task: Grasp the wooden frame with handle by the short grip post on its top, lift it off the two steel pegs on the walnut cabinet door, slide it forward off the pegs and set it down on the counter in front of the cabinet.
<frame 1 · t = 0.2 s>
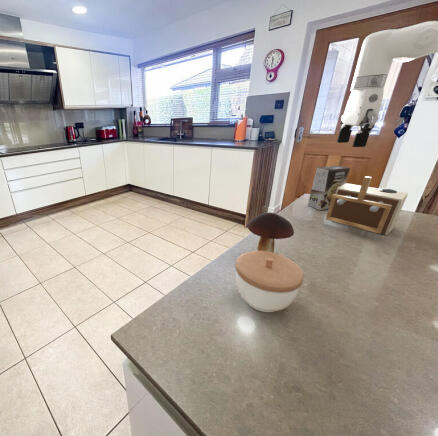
hand: (350, 144, 75), 26 cm above the countertop, tool pointing down, fingers open, 9 cm apart
cabinet: (359, 223, 82), on the countertop
lidded bowl: (261, 300, 52), on the countertop
wooden frame with handle: (351, 225, 75), point 3 cm above the countertop, touching cabinet
decorative mushroom: (263, 263, 64), on the countertop
coffee box: (322, 206, 96), on the countertop
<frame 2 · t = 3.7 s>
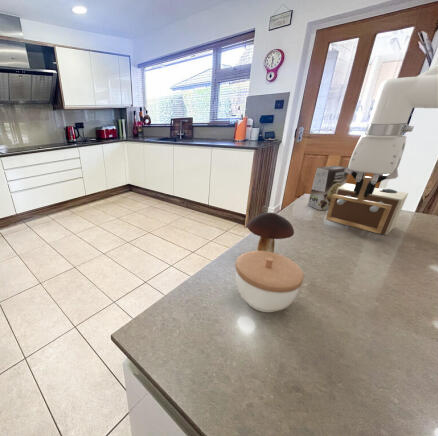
hand: (362, 194, 71), 13 cm above the countertop, tool pointing down, fingers closed on wooden frame with handle, 1 cm apart
wooden frame with handle: (351, 225, 75), point 3 cm above the countertop, touching cabinet, gripper
everything else where it was.
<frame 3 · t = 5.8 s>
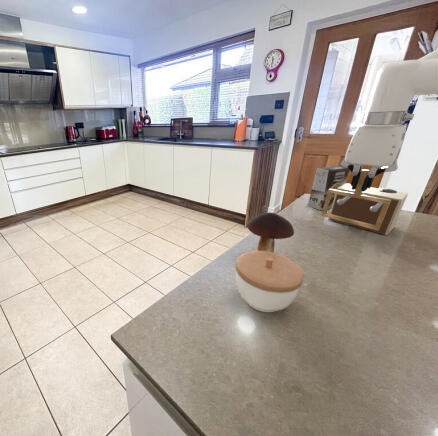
hand: (359, 189, 66), 16 cm above the countertop, tool pointing down, fingers closed on wooden frame with handle, 1 cm apart
wooden frame with handle: (348, 222, 71), point 6 cm above the countertop, touching gripper
everything else where it was.
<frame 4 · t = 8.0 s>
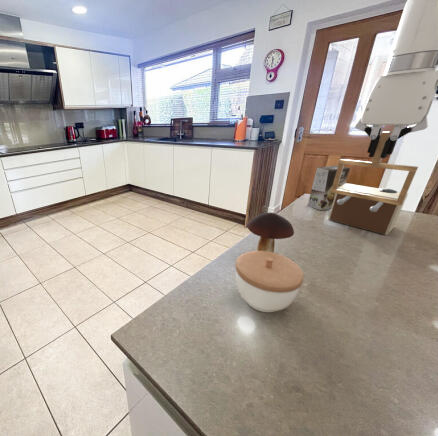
hand: (378, 156, 56), 27 cm above the countertop, tool pointing down, fingers closed on wooden frame with handle, 1 cm apart
wooden frame with handle: (363, 198, 60), point 16 cm above the countertop, touching gripper
everything else where it was.
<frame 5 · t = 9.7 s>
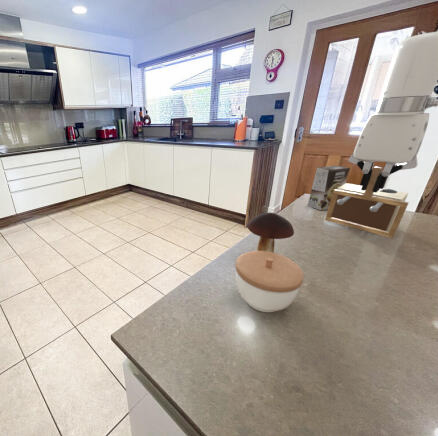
hand: (370, 189, 57), 19 cm above the countertop, tool pointing down, fingers closed on wooden frame with handle, 1 cm apart
wooden frame with handle: (356, 227, 61), point 9 cm above the countertop, touching gripper
everything else where it was.
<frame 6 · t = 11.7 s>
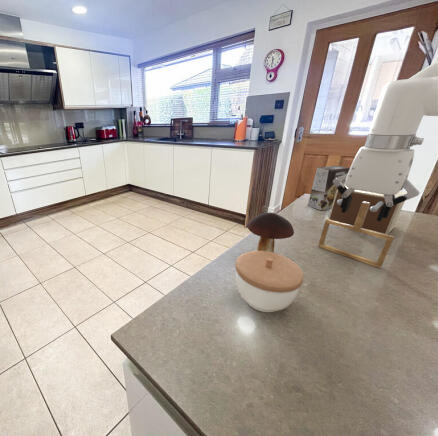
hand: (361, 214, 60), 13 cm above the countertop, tool pointing down, fingers open, 6 cm apart
wooden frame with handle: (347, 256, 65), on the countertop
everything else where it was.
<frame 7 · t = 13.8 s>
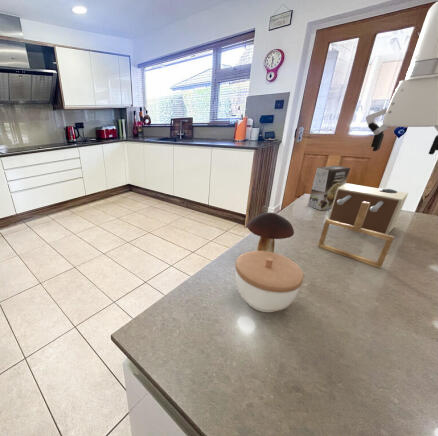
hand: (401, 151, 57), 27 cm above the countertop, tool pointing down, fingers open, 9 cm apart
nothing on the countertop moved.
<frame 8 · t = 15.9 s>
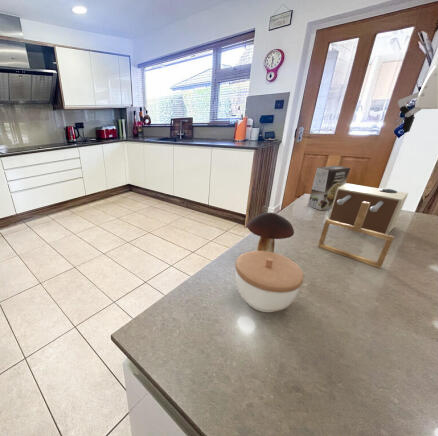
hand: (431, 132, 62), 30 cm above the countertop, tool pointing down, fingers open, 9 cm apart
nothing on the countertop moved.
at the end: wooden frame with handle inside the target area (0.0 cm from its centre), on the countertop; wooden frame with handle touching countertop; the gripper is holding nothing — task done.
